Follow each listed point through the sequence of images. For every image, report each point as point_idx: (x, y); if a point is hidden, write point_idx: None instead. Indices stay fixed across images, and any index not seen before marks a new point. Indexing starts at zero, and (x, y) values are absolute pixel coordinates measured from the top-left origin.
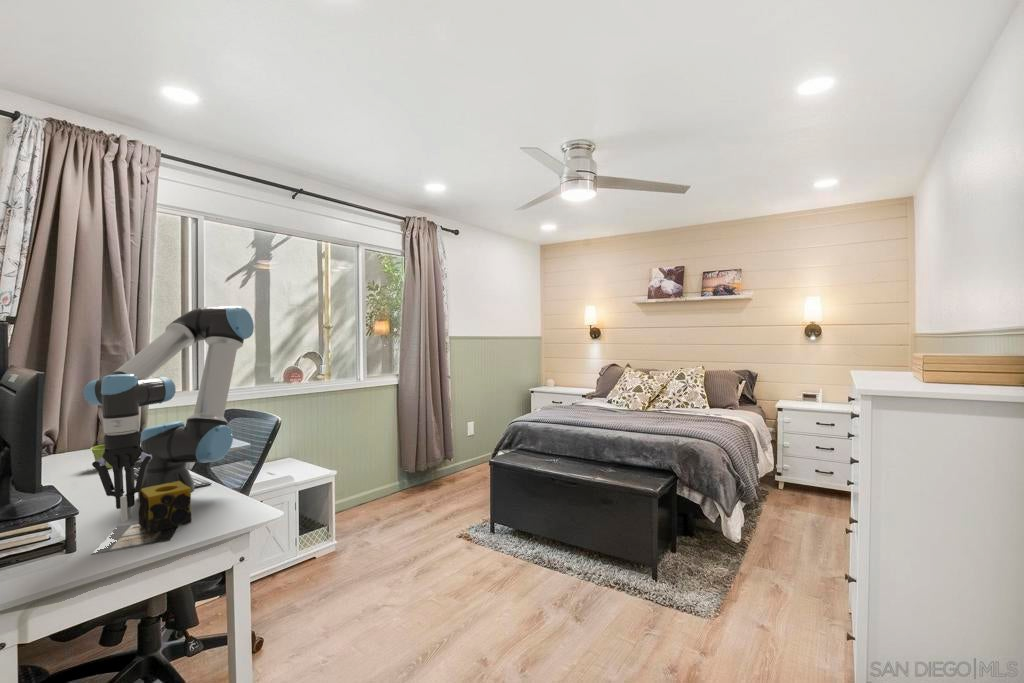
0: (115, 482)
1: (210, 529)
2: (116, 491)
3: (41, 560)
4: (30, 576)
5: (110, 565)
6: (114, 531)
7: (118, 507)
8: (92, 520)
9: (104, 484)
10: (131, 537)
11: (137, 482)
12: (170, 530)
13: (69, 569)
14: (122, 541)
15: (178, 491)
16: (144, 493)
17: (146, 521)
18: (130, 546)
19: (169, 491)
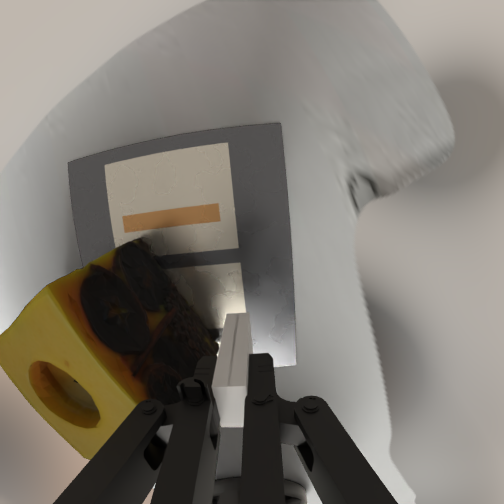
0: (272, 473)
1: (11, 218)
2: (266, 417)
3: (414, 154)
4: (378, 45)
5: (176, 26)
6: (287, 324)
7: (262, 357)
8: (373, 417)
9: (350, 457)
10: (196, 237)
11: (130, 447)
12: (93, 253)
13: (291, 37)
14: (213, 206)
15: (2, 334)
16: (108, 371)
17: (150, 287)
18: (164, 144)
19: (19, 342)
